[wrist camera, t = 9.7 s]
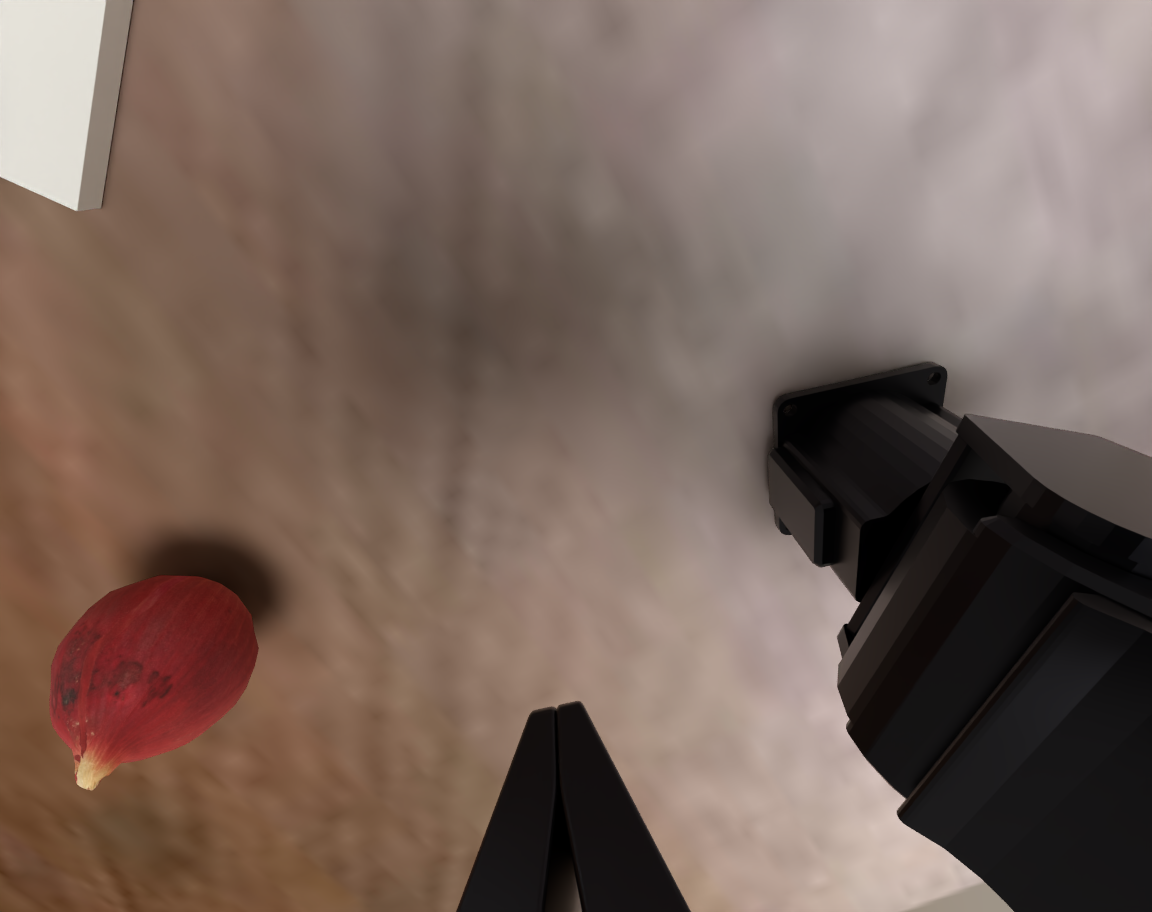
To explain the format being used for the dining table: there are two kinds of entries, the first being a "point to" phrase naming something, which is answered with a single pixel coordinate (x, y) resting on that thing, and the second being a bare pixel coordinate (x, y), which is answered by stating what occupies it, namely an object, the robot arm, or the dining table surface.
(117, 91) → the white base board
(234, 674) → the onion
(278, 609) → the dining table surface
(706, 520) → the dining table surface
